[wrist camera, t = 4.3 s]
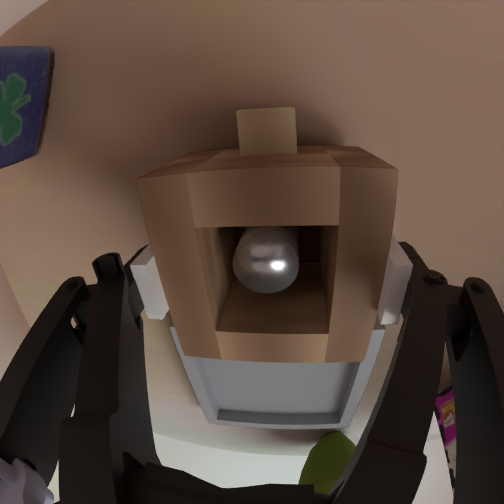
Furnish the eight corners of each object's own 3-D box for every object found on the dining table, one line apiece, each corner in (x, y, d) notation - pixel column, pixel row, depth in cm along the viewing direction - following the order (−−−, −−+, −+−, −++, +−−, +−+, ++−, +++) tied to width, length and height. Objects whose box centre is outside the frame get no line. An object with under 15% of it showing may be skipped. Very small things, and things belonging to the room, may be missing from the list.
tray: (379, 310, 19) (385, 329, 17) (347, 412, 26) (348, 427, 24) (177, 309, 21) (169, 326, 19) (212, 408, 28) (208, 423, 27)
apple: (295, 426, 29) (289, 511, 18) (364, 417, 26) (371, 503, 16) (305, 449, 32) (301, 517, 22) (363, 441, 30) (366, 511, 20)
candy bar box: (442, 408, 25) (464, 511, 11) (429, 399, 24) (452, 517, 10) (509, 358, 21) (550, 460, 6) (504, 343, 19) (552, 459, 5)
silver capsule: (296, 195, 16) (298, 235, 11) (296, 239, 17) (298, 293, 12) (247, 196, 16) (229, 236, 11) (251, 239, 17) (236, 292, 13)
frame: (357, 109, 12) (398, 109, 7) (348, 290, 17) (364, 361, 12) (186, 118, 14) (128, 126, 8) (212, 289, 19) (184, 355, 13)
